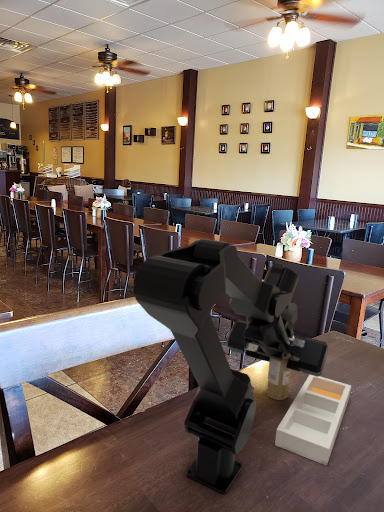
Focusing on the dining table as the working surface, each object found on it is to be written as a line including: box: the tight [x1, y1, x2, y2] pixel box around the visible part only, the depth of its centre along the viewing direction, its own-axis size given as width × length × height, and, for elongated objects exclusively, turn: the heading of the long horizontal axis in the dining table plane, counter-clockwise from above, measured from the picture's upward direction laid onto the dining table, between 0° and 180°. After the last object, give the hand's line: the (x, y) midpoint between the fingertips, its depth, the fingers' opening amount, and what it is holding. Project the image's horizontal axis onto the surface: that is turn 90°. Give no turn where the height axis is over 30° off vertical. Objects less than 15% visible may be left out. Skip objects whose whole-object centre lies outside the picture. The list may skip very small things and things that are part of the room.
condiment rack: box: [274, 374, 352, 466], centre depth 74 cm, size 24×8×3 cm, turn 150°
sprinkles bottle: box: [265, 334, 295, 401], centre depth 80 cm, size 5×5×14 cm
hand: (282, 363), depth 81 cm, fingers closed on sprinkles bottle, 4 cm apart
